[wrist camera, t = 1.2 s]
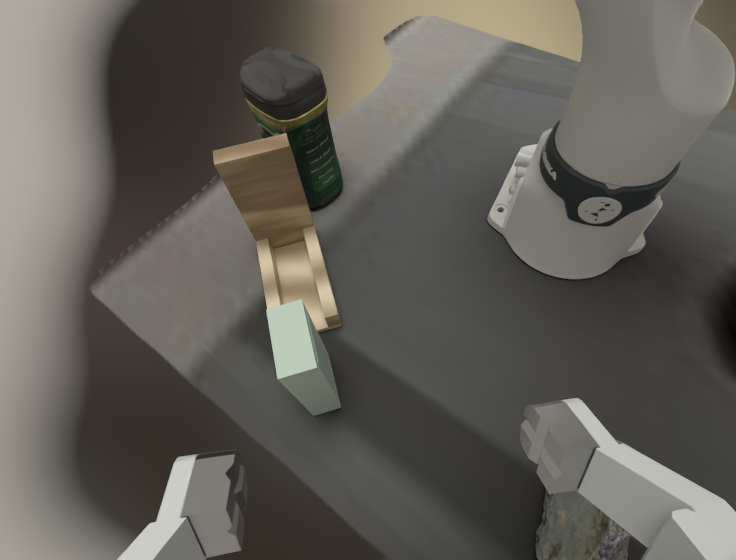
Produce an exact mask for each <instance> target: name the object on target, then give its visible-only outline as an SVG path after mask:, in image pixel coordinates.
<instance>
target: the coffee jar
mask: <svg viewBox="0 0 736 560" xmlns="http://www.w3.org/2000/svg"><path fill="white" fill-rule="evenodd" d="M240 81H241V85H242V88H243V92H244V96H245V98H246V100H247V103H248V105H249V107H250V109H251V111H252V113H253V115H254V117H255V119H256V122H257V124H258V127H259V129H260V132H261V135H262V138H263V139H264V138H268V137H272V136H276V135H280V134H284V133H286V134H287V137H288V141H289V144H290V147H291V150H292V154H293V157H294V160H295V164H296V167H297V170H298V173H299V177H300V180H301V183H302V187H303V190H304V193H305V196H306V200H307V203H308V206H309V208H317V207H320V206H322V205H324V204H326V203H328V202H329V201H331V200H332V199H333V198H334V197H335V196H336V195H337V194H338V193H339V192H340V191H341V189H342V186H343V180H342V175H341V170H340V166H339V162H338V159H337V155H336V151H335V146H334V142H333V137H332V133H331V128H330V124H329V119H328V113H327V102H328V95H327V90H326V86H325V83H324V79H323V75H322V73H321V70H320V69H319V67H318V66H316V65H314V64H313V63H311V62H310V61H308V60H306V59H304V58H303V57H300V56H299V55H296V54H295V53H292V52H290V51H286V50H282V49H277V48H274V47H271V46H270V47H268V48H266V49H264V50H262V51H260V52H258V53H256V54H254V55H253V56H251V57H249V58H248V59H246V60H245V61H244V62H243V66H242V68H241V71H240Z"/></svg>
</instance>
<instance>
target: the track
mask: <svg viewBox="0 0 736 560" xmlns="http://www.w3.org/2000/svg"><path fill="white" fill-rule="evenodd" d="M213 157H214V165H215V167H216V169H217V171H218V172H219V174H220V176H221V178H222V180H223V181H224V183H225V185H226V187H227V189H228V191H229V192H230V194H231V196H232V198H233V200H234V202H235V203H236V205H237V207H238V209H239V211H240V213H241V214H242V216H243V218H244V220H245V222H246V224H247V225H248V227H249V229H250V231H251V233H252V235H253V236H254V238H255V240H256V244H257V250H258V256H259V262H260V268H261V274H262V280H263V286H264V292H265V298H266V304H267V309H269V308H273V307H276V306H280V305H283V304H287V303H290V302H294V301H298V300H301V299H302V301H303V303H304V305H305V307H306V309H307V311H308V313H309V315H310V317H311V319H312V322H313V324H314V326H315V328H316V330H317V332H318V333H320V332H323V331H327V330H330V329H334V328H337V327H341V326H342V325H341V321H340V318H339V314H338V310H337V307H336V303H335V299H334V296H333V292H332V288H331V284H330V281H329V277H328V273H327V270H326V266H325V262H324V259H323V255H322V251H321V248H320V244H319V240H318V236H317V233H316V229H315V226H314V223H313V219H312V216H311V213H310V209H309V206H308V203H307V200H306V196H305V193H304V190H303V187H302V183H301V180H300V177H299V173H298V170H297V167H296V164H295V160H294V157H293V154H292V150H291V147H290V144H289V141H288V137H287V134H286V133H284V134H280V135H276V136H272V137H268V138H264V139H260V140H256V141H252V142H248V143H244V144H240V145H236V146H232V147H228V148H223V149H219V150H215V151H213Z"/></svg>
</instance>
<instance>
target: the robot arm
mask: <svg viewBox="0 0 736 560" xmlns="http://www.w3.org/2000/svg"><path fill="white" fill-rule="evenodd" d="M703 1H704V0H575V2H576V5H577V8H578V11H579V15H580V19H581V24H582V34H583V47H582V57H581V62H580V66H579V70H578V73H577V76H576V79H575V83H574V86H573V89H572V92H571V94H570V97H569V100H568V103H567V105H566V108H565V111H564V113H563V116H562V118H561V120H559V121H558V122H557V124H556V125H555V126H554V128H552V129H549V130H547V131H545V132H543V133H542V135H541V137H540V140H539V142H538V144H535V145H529V146H525V147H522V148H521V149H520V151H519V153H518V155H517V157H516V159H515V161H514V163H513V165H512V167H511V169H510V171H509V173H508V175H507V177H506V179H505V181H504V183H503V186H502V188H501V190H500V192H499V194H498V196H497V198H496V200H495V202H494V204H493V206H492V208H491V210H490V212H489V214H488V217H487V221H488V223H489V224H490V225H491V226H492V227H493V228H495V229H496V230H497V231H498V232H500V233H501V234H503V236H504V237H505V238H506V240H507V241H508V243H509V245H510V246H511V248H512V249H513V251H514V252H515V253H516V254H517V255H518V256H519V257H520V258H521V259H522V260H523V261H524V262H525V263H527V264H528V265H530V266H531V267H533V268H535V269H536V270H538V271H540V272H543V273H545V274H548V275H551V276H555V277H559V278H565V279H585V278H590V277H594V276H597V275H600V274H602V273H604V272H606V271H607V270H609V269H610V268H611V267H612V266H613V265H615V264H616V263H617V262H618V261H619V260H620V259H622V258H624V257H627V256H631V255H634V254H637V253H639V252H640V251H641V250H642V249H643V247H644V246H645V244H646V242H645V238H644V234H643V232H644V231H645V229H646V228H647V227H648V225H649V224H650V223H651V221H652V220H653V218H654V217H655V216H656V214H657V213H658V212H659V210H660V209H661V207H662V204H663V201H662V200H661V197H660V193H662V192H663V191H664V190H665V189H666V188H667V186H668V185H669V184H670V182H671V180H672V179H673V177H674V175H675V174H676V172H677V171H678V169H679V166H680V161H681V159H682V158H683V157H684V156H685V154H686V153H687V152H688V151H689V149H690V148H691V147H692V146H693V145H694V143H695V142H696V141H697V140H698V139H699V137H700V136H701V135H702V134H703V132H704V131H705V130H706V129H707V128H708V126H709V125H710V124H711V123H712V122H713V120H714V119H715V118H716V117H717V115H718V114H719V113H720V112H721V111H722V109H723V108H724V107H725V106H726V104H727V102H728V100H729V97H730V94H731V92H732V89H733V85H734V80H735V66H734V62H733V59H732V56H731V55H730V53H729V51H728V49H727V48H726V47H725V46H724V44H723V43H722V42H721V41H720V40H719V39H718V38H717V37H716V36H715V35H714V34H713V33H712V32H711V31H710V30H708V29H707V28H705V27H704V26H703V25H701V24H700V23H698V22H697V21H696V20H694V19H693V18H694V16H695V13H696V12H697V10H698V8H699V7H700V5H701V4H702V2H703ZM499 211H502V212H499ZM524 416H525V417H526V420H525V421H524V422H523V423H522V424H521V426H520V431H519V435H520V441H521V445H522V447H523V450H524V452H525V453H526V455H527V457H528V458H529V459H530V460H532V461H533V462H535V463H536V464H537V470H536V473H537V474H538V476H539V478H540V479H541V481H542V483H543V484H544V486H545V488H546V490H547V491H548V493H549V494H555V493H562V492H568V491H575V490H578V492H579V493H580V494H581V495H583V496H584V497H585V498H586V499H587V500H589V501H590V502H591V503H592V504H594V505H595V506H596V507H597V508H599V509H600V510H601V511H602V512H604V513H605V514H606V515H607V516H609V517H610V518H611V519H612V520H614V521H615V522H616V523H617V524H618V525H620V526H621V527H622V528H623V529H625V530H626V531H627V532H628V533H630V534H631V535H632V536H633V537H635V538H636V539H637V540H638V541H640V542H641V543H642V544H643V545H645V546H646V547H647V548H648V549H647V551H646V552H645V554H644V555H643V557H642V558H641V560H736V512H735V511H734V510H733V508H732V507H731V506H730V505H729V504H728V503H727V502H726V501H725V500H724V499H722V498H720V497H718V496H716V495H715V494H713V493H711V492H709V491H707V490H706V489H704V488H702V487H700V486H699V485H697V484H695V483H693V482H691V481H690V480H688V479H686V478H684V477H682V476H681V475H679V474H677V473H675V472H673V471H672V470H670V469H668V468H666V467H664V466H663V465H661V464H659V463H657V462H655V461H654V460H652V459H650V458H648V457H647V456H645V455H643V454H641V453H639V452H638V451H636V450H634V449H632V448H630V447H629V446H627V445H625V444H618V443H617V442H616V441H615V439H614V438H613V437H612V436H611V435H610V433H609V432H608V431H607V430H606V429H605V428H604V426H603V425H602V424H601V423H600V422H599V420H598V419H597V418H596V417H595V416H594V414H593V413H592V412H591V411H590V410H589V409H588V407H587V406H586V405H585V404H584V403H583V401H582V400H580V399H578V398H572V399H566V400H560V401H559V400H557V401H551V402H545V403H539V404H533V405H528V406H527V407H526V408H525V411H524ZM246 503H247V475H246V471H245V468H244V467H243V466H241V454H240V451H239V450H238V449H237V450H229V451H221V452H213V453H205V454H197V455H190V456H182V457H178V458H177V460H176V461H175V463H174V465H173V468H172V471H171V474H170V478H169V481H168V484H167V488H166V491H165V494H164V498H163V501H162V504H161V508H160V511H159V514H158V518H157V520H156V522H154V523H150V524H149V525H148V526H147V527H146V528H145V529H144V530H143V531H142V533H141V534H140V535H139V536H138V537H137V538H136V539H135V540H134V542H133V543H132V544H131V545H130V546H129V547H128V548H127V549H126V551H125V552H124V553H123V554H122V555H121V556H120V557H119V559H118V560H206V558H207V557H212V556H216V555H220V554H226V553H231V552H235V551H240V550H241V546H242V538H243V529H244V520H243V517H242V514H241V512H242V510H243V509H244V507H245V506H246Z"/></svg>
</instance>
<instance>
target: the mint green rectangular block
mask: <svg viewBox="0 0 736 560" xmlns="http://www.w3.org/2000/svg"><path fill="white" fill-rule="evenodd" d="M266 312H267V318H268V324H269V330H270V336H271V342H272V348H273V354H274V360H275V366H276V372H277V378H278V380H279V381H280V382H281V383H282V384H283V385H284V386H285V387H286V388H287V389H288V390H289V391H290V392H291V393H292V394H293V395H294V396H295V397H296V398H297V399H298V400H299V401H300V403H301V404H302V405H303V406H304V407H305V408H306V409H307V410H308V411H309V412H310V413H311V414H312V415H313V416H315V415H319V414H322V413H325V412H328V411H332V410H335V409H338V408H341V405H340V400H339V396H338V392H337V388H336V384H335V380H334V376H333V371H332V367H331V363H330V359H329V355H328V353H327V351H326V349H325V347H324V345H323V343H322V340H321V338H320V336H319V334H318V332H317V330H316V328H315V326H314V324H313V322H312V319H311V317H310V315H309V313H308V311H307V309H306V307H305V305H304V303H303V301H302V299H301V300H298V301H294V302H290V303H287V304H283V305H280V306H276V307H273V308H269V309H266Z"/></svg>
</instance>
